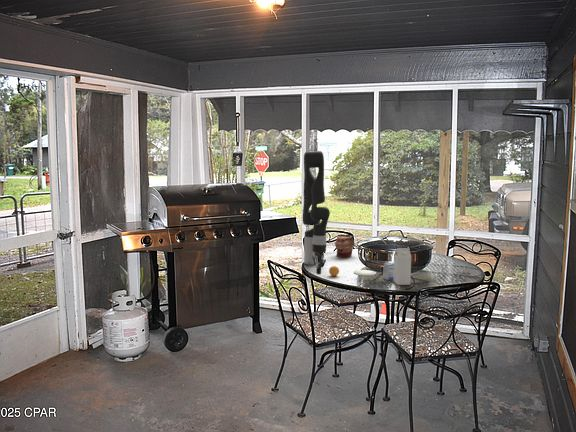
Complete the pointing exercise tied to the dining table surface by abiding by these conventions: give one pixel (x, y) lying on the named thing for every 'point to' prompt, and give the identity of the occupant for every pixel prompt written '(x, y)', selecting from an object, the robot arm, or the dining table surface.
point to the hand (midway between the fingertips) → (318, 273)
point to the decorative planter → (344, 245)
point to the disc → (364, 272)
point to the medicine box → (388, 271)
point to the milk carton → (402, 266)
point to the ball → (334, 271)
